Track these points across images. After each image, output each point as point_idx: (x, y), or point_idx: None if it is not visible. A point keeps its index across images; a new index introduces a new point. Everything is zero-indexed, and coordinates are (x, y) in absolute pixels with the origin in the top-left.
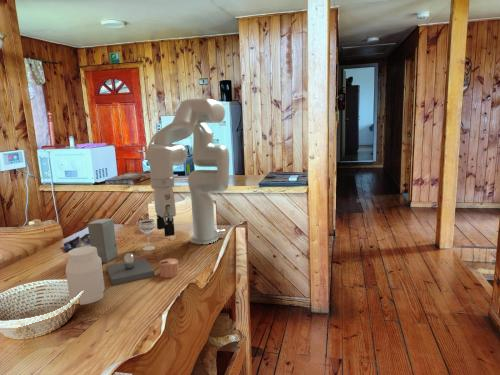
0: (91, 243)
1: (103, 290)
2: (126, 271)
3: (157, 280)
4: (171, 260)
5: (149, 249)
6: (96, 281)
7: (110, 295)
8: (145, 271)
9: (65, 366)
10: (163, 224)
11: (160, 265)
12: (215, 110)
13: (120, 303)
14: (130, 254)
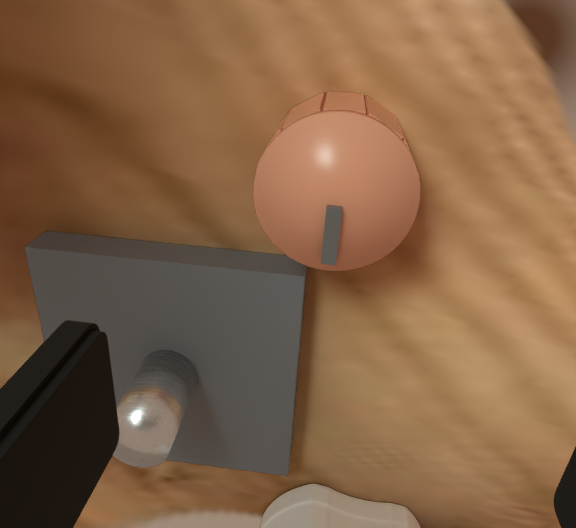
0: None
1: (337, 495)
2: (214, 400)
3: (388, 265)
4: (319, 164)
5: None
6: None
7: (402, 482)
8: (283, 322)
9: None
10: (71, 420)
11: (346, 265)
12: None
13: (522, 477)
14: (136, 433)
